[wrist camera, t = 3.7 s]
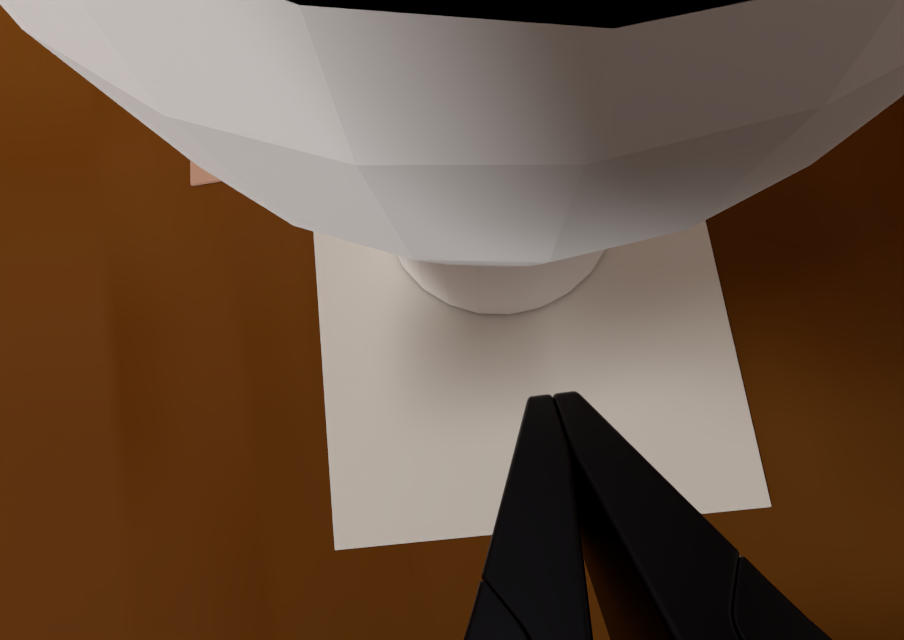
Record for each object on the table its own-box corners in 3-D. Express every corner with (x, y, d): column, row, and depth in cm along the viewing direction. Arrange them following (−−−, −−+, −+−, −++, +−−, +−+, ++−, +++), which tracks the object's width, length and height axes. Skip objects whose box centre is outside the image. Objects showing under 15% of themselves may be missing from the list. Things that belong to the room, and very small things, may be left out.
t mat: (934, 489, 13) (937, 490, 13) (198, 563, 15) (197, 563, 15) (758, -109, 17) (760, -112, 17) (189, 1, 19) (187, -1, 19)
